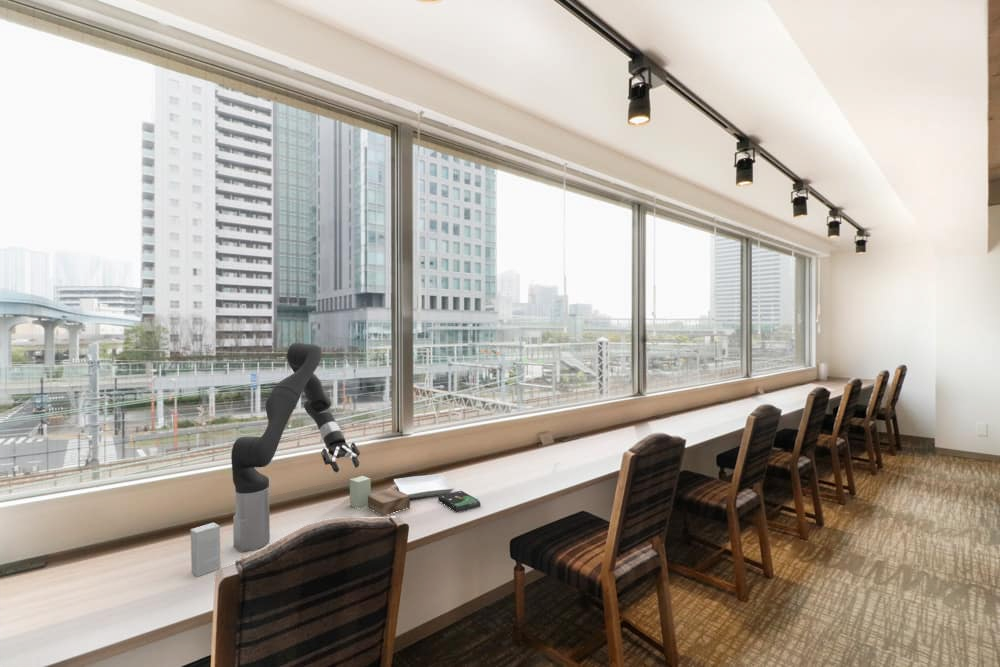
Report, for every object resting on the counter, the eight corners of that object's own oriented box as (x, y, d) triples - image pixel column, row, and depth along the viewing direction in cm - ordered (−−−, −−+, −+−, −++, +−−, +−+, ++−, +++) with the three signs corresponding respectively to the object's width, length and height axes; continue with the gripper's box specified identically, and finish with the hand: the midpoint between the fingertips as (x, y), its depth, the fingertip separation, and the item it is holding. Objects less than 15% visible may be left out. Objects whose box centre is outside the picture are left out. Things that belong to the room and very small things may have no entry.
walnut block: (383, 517, 167) (382, 503, 167) (368, 509, 175) (367, 495, 175) (409, 509, 174) (409, 495, 174) (394, 501, 182) (394, 488, 182)
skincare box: (215, 564, 133) (214, 521, 133) (221, 568, 131) (220, 525, 131) (190, 572, 129) (189, 528, 129) (196, 577, 126) (195, 532, 126)
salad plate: (454, 495, 188) (454, 487, 188) (401, 503, 180) (401, 494, 180) (441, 480, 208) (441, 472, 208) (392, 487, 200) (392, 478, 200)
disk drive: (437, 502, 181) (457, 514, 169) (437, 495, 181) (456, 506, 169) (461, 497, 187) (481, 507, 175) (461, 490, 187) (481, 500, 175)
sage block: (358, 509, 174) (357, 482, 174) (350, 505, 178) (349, 479, 178) (371, 505, 178) (370, 478, 178) (362, 501, 182) (362, 475, 182)
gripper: (318, 432, 184) (334, 467, 177) (351, 427, 195) (367, 459, 187) (312, 444, 188) (327, 478, 180) (344, 438, 198) (360, 470, 191)
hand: (347, 468), depth 184 cm, fingers open, 8 cm apart
